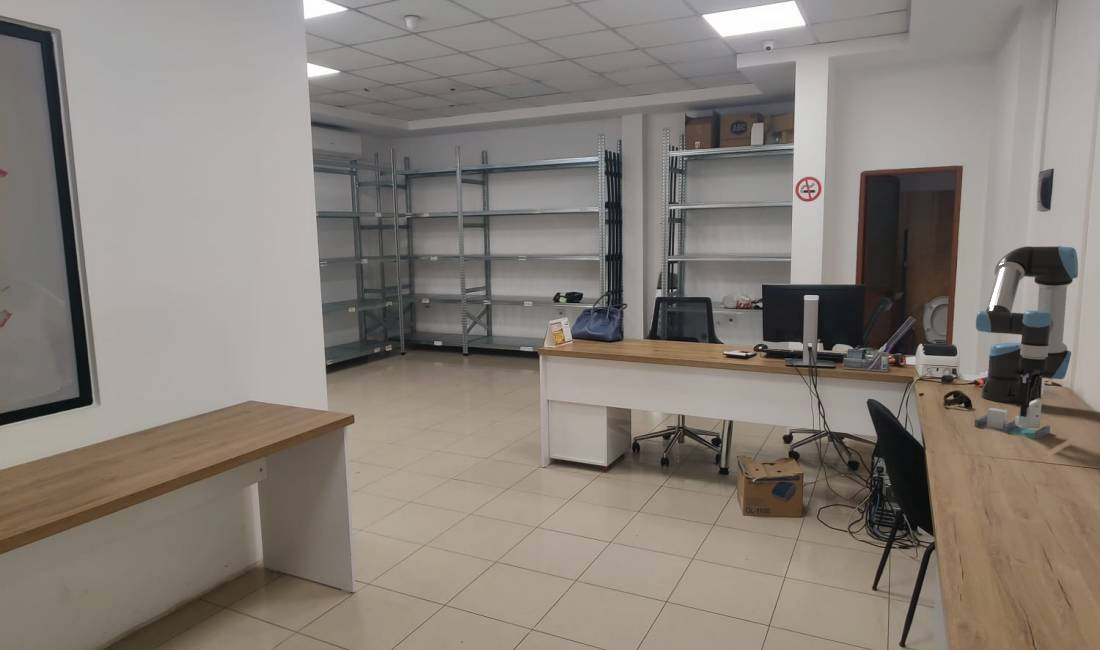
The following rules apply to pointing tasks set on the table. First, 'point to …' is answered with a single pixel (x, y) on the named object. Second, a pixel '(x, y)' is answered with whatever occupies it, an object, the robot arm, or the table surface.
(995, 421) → the white rectangular block
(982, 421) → the two-compartment cubby shelf
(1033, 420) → the white wedge bracket
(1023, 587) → the table surface
